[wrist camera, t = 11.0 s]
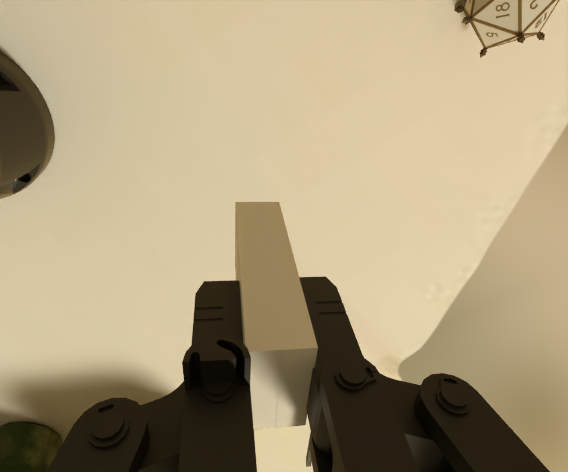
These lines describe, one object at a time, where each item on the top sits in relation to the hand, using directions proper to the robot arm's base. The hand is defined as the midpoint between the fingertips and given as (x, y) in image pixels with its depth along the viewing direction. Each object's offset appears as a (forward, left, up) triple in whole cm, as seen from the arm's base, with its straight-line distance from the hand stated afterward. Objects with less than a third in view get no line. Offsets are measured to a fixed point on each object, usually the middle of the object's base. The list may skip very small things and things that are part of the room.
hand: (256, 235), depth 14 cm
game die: (+24, +8, -30) cm, 39 cm away
